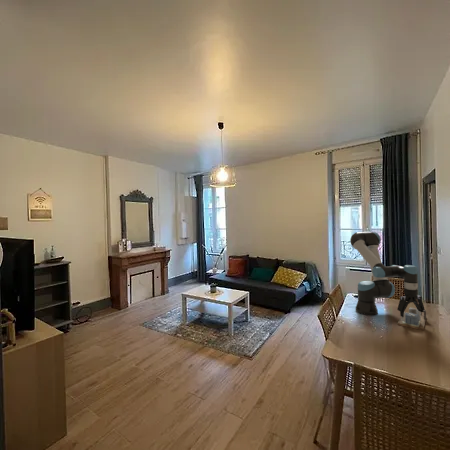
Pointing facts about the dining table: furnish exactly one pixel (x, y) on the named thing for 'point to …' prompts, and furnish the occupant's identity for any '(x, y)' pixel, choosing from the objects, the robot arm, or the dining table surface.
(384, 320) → the dining table surface
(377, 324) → the dining table surface
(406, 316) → the cap
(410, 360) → the dining table surface
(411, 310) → the base
